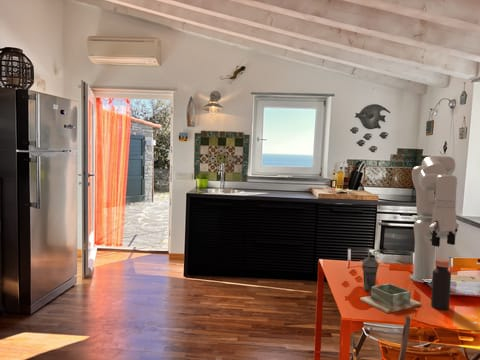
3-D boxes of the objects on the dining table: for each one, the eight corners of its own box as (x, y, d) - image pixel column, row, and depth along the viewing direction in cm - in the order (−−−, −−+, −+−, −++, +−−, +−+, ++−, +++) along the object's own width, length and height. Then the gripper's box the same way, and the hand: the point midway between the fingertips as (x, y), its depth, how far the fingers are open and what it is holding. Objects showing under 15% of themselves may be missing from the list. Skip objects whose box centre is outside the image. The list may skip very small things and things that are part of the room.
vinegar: (434, 302, 160) (436, 257, 159) (451, 307, 155) (453, 260, 154) (428, 306, 155) (430, 260, 154) (446, 311, 150) (448, 263, 149)
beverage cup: (378, 292, 171) (380, 250, 170) (362, 291, 172) (363, 249, 171) (375, 287, 178) (377, 246, 177) (360, 286, 179) (361, 245, 178)
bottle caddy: (392, 293, 170) (393, 280, 170) (421, 305, 157) (421, 291, 156) (360, 299, 161) (360, 286, 161) (387, 313, 148) (387, 298, 148)
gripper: (450, 203, 160) (448, 241, 161) (423, 204, 152) (421, 244, 153) (467, 205, 153) (465, 245, 154) (439, 206, 146) (437, 248, 146)
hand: (443, 245), depth 154 cm, fingers open, 9 cm apart
